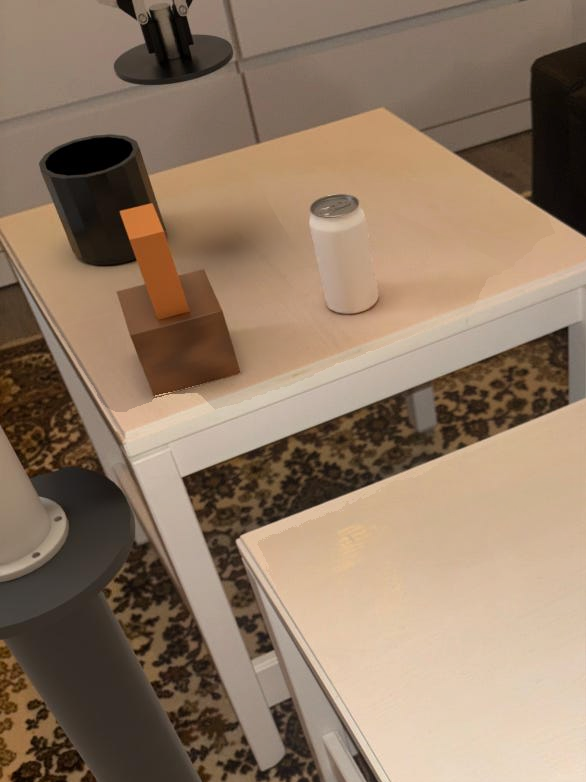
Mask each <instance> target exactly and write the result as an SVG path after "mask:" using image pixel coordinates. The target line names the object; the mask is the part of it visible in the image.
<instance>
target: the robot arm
mask: <svg viewBox="0 0 586 782" xmlns="http://www.w3.org/2000/svg"><path fill="white" fill-rule="evenodd" d="M193 1H194V0H171V2H172V4H171V10H172V14H173V18H174V21H175V25H176V29H177V32H178V36H179V40H180V43H181V47H182V51H183V54H184V55H185V56H187V57H190V56H191V52H190V48H189V45H194V42H193V38H192V35H193V34H192V30H191V28H190V27H191V26H190V24H189V19H188V16H187V15H188V14H189V9H190V7H191V6H192V3H193ZM97 2H98V3H99V4H100V5H103V6H104V5H105V6H107V7H110V8H116V9H118V10H119V9H120V10H121V11H122V12H124V13H125V14H127V15H128V16H130V17H131V18H132V19H134V20H135V21H137V23H138V24H139V26H140V29H141V33H142V36H143V40H144V43H146V47H147V50H148V52H149V54H152V53H154V54H155V56H156V58H157V60H158V62H159V63H163V62H164V61H165V59H164V55H163V51H162V48H161V44H160V41H159V37H158V34H157V30H156V27H155V24H154V22H153V21H152V19H151V16H150V12H149V11H147V7H146V3H145V0H97ZM29 478H30V477H29V476H28V474H27V472H26V470H25V468H24V466H23V464H22V462H21V461H20V458H19V457H18V455H17V453H16V452H15V449H14V447H13V446H12V444H11V442H10V440H9V438H8V437H7V435H6V433H5V431H4V429H3V427H2V425H1V424H0V582H5V581H10V580H13V579H16V578H19V577H22V576H24V575H26V574H29V573H31V572H33V571H34V570H36V569H38V568H40V567H41V566H43V565H44V564H45V563H47V562H48V561H49V560H51V559H52V558H53V557H54V556H55V555H56V554H57V553H58V551H59V550H60V549H61V547H62V546H63V545H64V543H65V541H66V539H67V536H68V532H69V521H68V519H67V517H66V514H65V512H64V511H63V509H62V508H61V506H59V505H58V504H57V503H56V502H54V501H52V500H50V499H47V498H43V497H39V496H38V494H37V492H36V490H35V489H34V487H33V485H32V483H31V481H30V479H29Z"/></svg>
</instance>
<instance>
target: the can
mask: <svg viewBox="0 0 586 782" xmlns="http://www.w3.org/2000/svg"><path fill="white" fill-rule="evenodd" d="M309 211H310V216H309V219H308V220H309V221H308V223H309V231H310V234H311V235H310V236H311V239H312V244H313V248H314V249H313V250H314V252H315V253H314V254H315V257H316V262H317V267H318V272H319V277H320V281H321V287H322V291H323V295H324V300H325V304H326V306H327V308H328V309H330V310H331V311H332V312H335V313H337V314H340V315H356V314H361V313H364V312H367V311H368V310H370V309H371V308H373V307H374V306H375V304H376V303H377V302H378V300H379V289H378V283H377V278H376V271H375V266H374V265H375V264H374V260H373V253H372V248H371V241H370V236H369V235H370V234H369V230H368V225H367V219H366V214H365V211H364V210H363V208H362V207H361V206H360V200H359V199H358V197H356V196H354V195H352V194H348V193H334V194H327V195H324V196H321V197H319V198H317V199H315V200H314V201H313V202H312V203H311V204H310V206H309Z"/></svg>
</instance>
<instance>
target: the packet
mask: <svg viewBox="0 0 586 782" xmlns="http://www.w3.org/2000/svg"><path fill="white" fill-rule="evenodd" d="M120 214H121V217H122V220H123V223H124V226H125V228H126V231H127V234H128V237H129V240H130V243H131V245H132V248H133V251H134V254H135V257H136V259H135V260H136V263H137V265H138V268H139V271H140V273H141V277H142V279H143V282H144V284H145V285H146V288H147V291H148V293H149V296H150V299H151V302H152V305H153V308H154V310H155V313H156V316H157V319H158V320H160V319H164V318H168V317H171V316H175V315H179V314H183V313H186V312H190V310H189V307H188V304H187V301H186V298H185V295H184V291H183V288H182V285H181V282H180V279H179V273H178V270H177V267H176V264H175V261H174V257H173V255H172V252H171V248H170V246H169V242H168V240H167V235H166V236H165V233H164V230H163V228H162V225H161V223H160V220H159V218H158V215H157V213H156V211H155V208H154V206H153V203H151V204H147V205H143V206H138V207H134V208H130V209H126V210H122V211H120Z"/></svg>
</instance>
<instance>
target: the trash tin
mask: <svg viewBox="0 0 586 782" xmlns="http://www.w3.org/2000/svg"><path fill="white" fill-rule="evenodd" d="M38 166H39V170H40V174H41V176H42V178H43V181H44V183H45V186H46V189H47V191H48V193H49V195H50V198H51V200H52V203H53V206H54V208H55V210H56V213H57V215H58V218H59V220H60V223H61V225H62V228H63V230H64V233H65V235H66V237H67V240H68V243H69V245H70V248H71V250H72V253H73V254H74V256H75V257H76V259H78V260H79V261H82V262H83V263H87V264H90V265H97V266H98V265H99V266H100V265H101V266H104V265H106V266H108V265H118V264H123V263H128V262H130V261H133V260H134V261H135V260H136V257H135V254H134V251H133V248H132V245H131V243H130V240H129V237H128V234H127V231H126V228H125V226H124V223H123V220H122V217H121V214H120V211H122V210H126V209H130V208H134V207H138V206H143V205H147V204H151V203H153V206H154V208H155V211H156V213H157V215H158V218H159V220H160V223H161V225H162V228H163V230H164V233H165V236H166V237H167V229H166V226H165V222H164V219H163V217H162V213H161V210H160V207H159V204H158V201H157V197H156V195H155V192H154V188H153V185H152V182H151V179H150V176H149V173H148V169H147V167H146V164H145V161H144V158H143V155H142V151H141V148H140V146H139V143H138V141H137V140H135V139H133V138H131V137H130V136H127V135H120V134H113V133H111V134H110V133H108V134H95V135H89V136H85V137H80V138H75V139H73V140H70V141H67V142H65V143H62V144H60V145H58V146H55V147H54V148H53V149H51V150H50V151H48V152H47V153H45V154H44V155H43V156H42V158H41V159H40V161H39V162H38Z"/></svg>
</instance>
